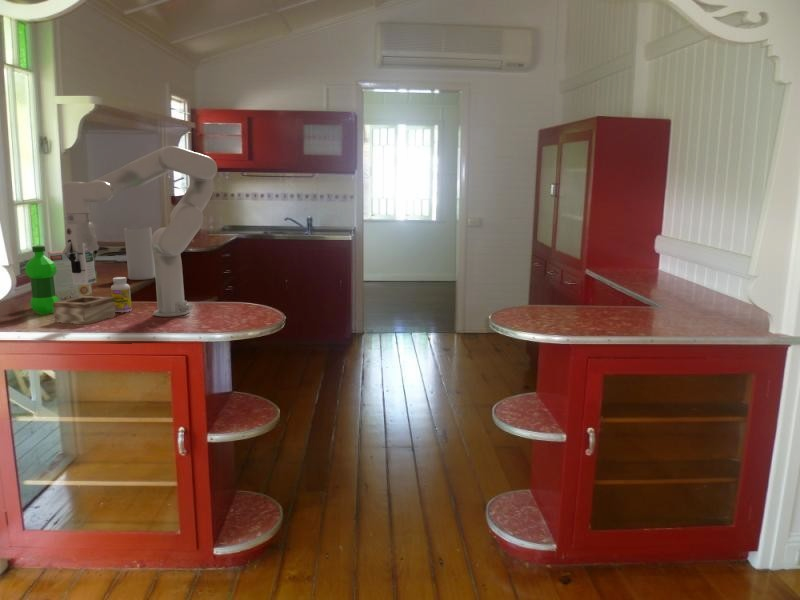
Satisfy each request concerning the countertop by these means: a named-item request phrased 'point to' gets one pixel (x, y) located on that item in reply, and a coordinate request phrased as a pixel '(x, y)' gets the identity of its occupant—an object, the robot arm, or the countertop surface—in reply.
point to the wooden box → (84, 309)
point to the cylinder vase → (139, 253)
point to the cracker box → (66, 278)
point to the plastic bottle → (41, 281)
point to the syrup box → (85, 268)
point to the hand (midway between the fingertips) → (84, 270)
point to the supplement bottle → (121, 295)
